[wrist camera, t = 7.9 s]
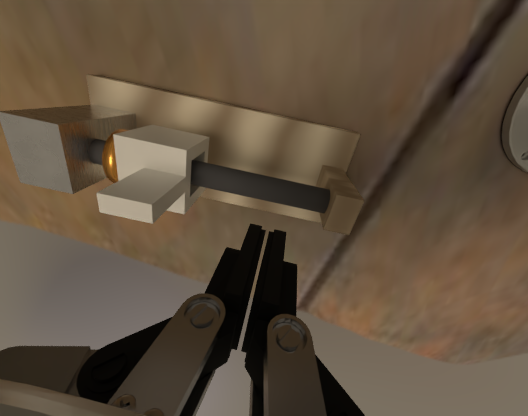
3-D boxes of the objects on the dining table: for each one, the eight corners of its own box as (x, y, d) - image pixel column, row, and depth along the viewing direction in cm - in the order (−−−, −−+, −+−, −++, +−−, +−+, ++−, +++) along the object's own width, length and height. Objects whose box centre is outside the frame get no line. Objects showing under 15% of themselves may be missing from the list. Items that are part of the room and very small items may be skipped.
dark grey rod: (328, 185, 19) (332, 195, 17) (320, 206, 20) (323, 217, 18) (81, 131, 19) (60, 136, 17) (85, 155, 20) (65, 161, 18)
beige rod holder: (356, 131, 23) (393, 154, 15) (324, 217, 27) (339, 270, 19) (98, 75, 22) (-7, 66, 15) (110, 171, 27) (35, 204, 19)
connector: (165, 119, 22) (103, 134, 15) (166, 168, 25) (112, 202, 17) (95, 104, 22) (-3, 111, 15) (102, 154, 25) (20, 182, 17)
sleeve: (209, 136, 20) (150, 171, 11) (205, 189, 22) (153, 250, 14) (152, 124, 20) (50, 149, 11) (154, 178, 22) (71, 232, 14)
